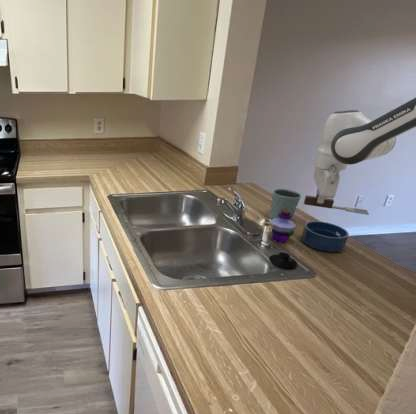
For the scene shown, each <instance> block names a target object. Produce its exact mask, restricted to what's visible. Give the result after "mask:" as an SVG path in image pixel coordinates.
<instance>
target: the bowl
mask: <svg viewBox="0 0 416 414" xmlns="http://www.w3.org/2000/svg"><path fill="white" fill-rule="evenodd" d="M300 239H301V241H302V242H303V243H304V244H305V245H306V246H307V247H310V248H312V249H314V250H317V251H321V252H327V253H337V252H342V251H343V250H344V249H345V247H346V244H347V241H348V239H349V232H348V231H347V229H345V228H343V227H342V226H339V225H337V224H334V223H330V222H325V221H317V220H313V221H307V222H305V224H304V226H303V230H302V233H301V237H300Z"/></svg>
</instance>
